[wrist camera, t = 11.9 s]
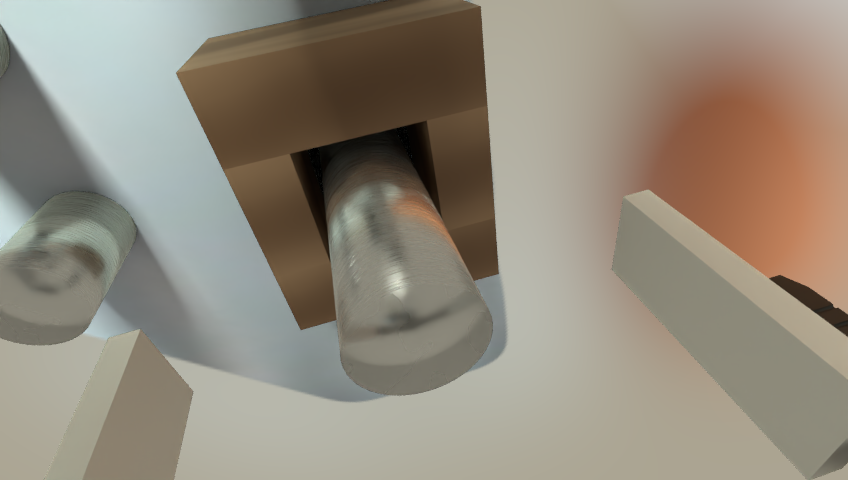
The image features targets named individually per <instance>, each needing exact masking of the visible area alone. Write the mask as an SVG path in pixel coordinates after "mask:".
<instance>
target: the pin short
mask: <svg viewBox="0 0 848 480" xmlns="http://www.w3.org/2000/svg"><path fill="white" fill-rule="evenodd" d="M135 239H136V226H135V223H134V221H133V219H132V217H131V216H130V215H129V213H128V212H127V211H126V210H125V209H124V208H123V207H121V206H120V205H119V204H117V203H116V202H114V201H113V200H111V199H109V198H107V197H104V196H102V195H99V194H95V193H91V192H84V191H70V192H64V193H61V194H58V195H55V196H53V197H52V198H50V199H49V200H48V201H47V202H45V203H44V205H43V206H42V207H41V208H40V209H39V210H38V211H37V212H36V213H35V214H34V215H33V216H32V217H31V218H30V219H29V220H28V221H27V222H26V223H25V224H24V225H23V226H22V227H21V228H20V229H19V230H18V231H17V232H16V233H15V235H14V236H13V237H12V238H11V239H10V240H9V241H8V242H7V243H6V244H5V245H4V246H3V247H2V248H1V249H0V338H2V339H5V340H8V341H12V342H16V343H20V344H27V345H52V344H58V343H63V342H66V341H69V340H72V339H74V338H76V337H78V336H79V335H81V334H82V333H83V332H84V331H85V330H86V329H87V328H88V326H89V325H90V323H91V321H92V319H93V317H94V315H95V314H96V312H97V310H98V308H99V306H100V304H101V303H102V301H103V299H104V297H105V295H106V293H107V292H108V290H109V288H110V286H111V284H112V282H113V280H114V279H115V277H116V275H117V273H118V271H119V269H120V268H121V266H122V264H123V262H124V260H125V258H126V257H127V255H128V253H129V251H130V249H131V247H132V246H133V244H134V242H135Z"/></svg>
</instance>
